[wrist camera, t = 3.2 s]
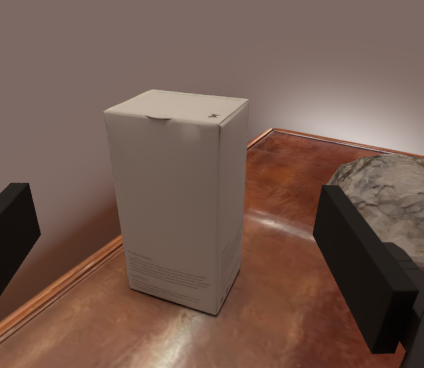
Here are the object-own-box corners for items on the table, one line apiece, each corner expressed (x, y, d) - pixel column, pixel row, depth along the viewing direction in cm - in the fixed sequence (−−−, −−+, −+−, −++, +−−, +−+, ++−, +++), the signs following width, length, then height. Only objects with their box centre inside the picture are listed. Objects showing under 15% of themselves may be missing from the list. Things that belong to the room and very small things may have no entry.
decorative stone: (504, 212, 40) (537, 134, 34) (557, 320, 30) (617, 237, 24) (322, 203, 46) (323, 136, 40) (316, 289, 36) (316, 217, 30)
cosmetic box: (241, 268, 32) (257, 98, 25) (215, 323, 27) (225, 125, 20) (160, 245, 35) (153, 85, 28) (121, 290, 29) (99, 105, 22)
